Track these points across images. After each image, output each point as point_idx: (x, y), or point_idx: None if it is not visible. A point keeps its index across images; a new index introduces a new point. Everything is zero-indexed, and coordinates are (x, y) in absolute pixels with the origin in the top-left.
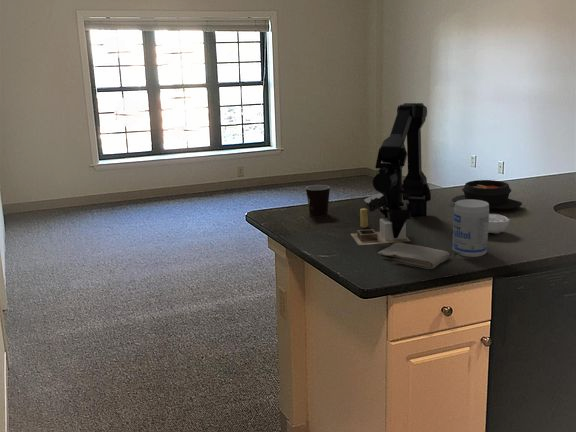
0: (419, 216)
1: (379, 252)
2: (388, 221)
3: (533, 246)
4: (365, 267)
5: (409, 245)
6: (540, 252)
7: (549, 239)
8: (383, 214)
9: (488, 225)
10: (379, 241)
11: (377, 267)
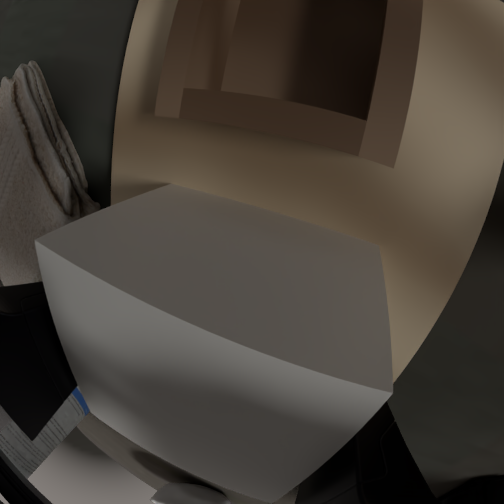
0: (448, 500)
1: (15, 72)
2: (144, 375)
3: (109, 446)
4: (15, 19)
5: (28, 242)
6: (82, 424)
7: (143, 476)
8: (423, 499)
9: (158, 493)
10: (156, 120)
11: (3, 56)
